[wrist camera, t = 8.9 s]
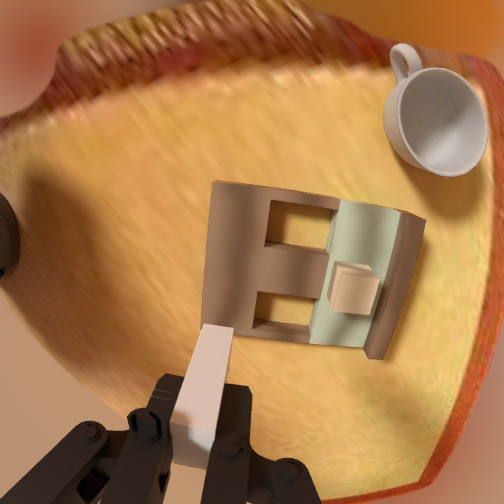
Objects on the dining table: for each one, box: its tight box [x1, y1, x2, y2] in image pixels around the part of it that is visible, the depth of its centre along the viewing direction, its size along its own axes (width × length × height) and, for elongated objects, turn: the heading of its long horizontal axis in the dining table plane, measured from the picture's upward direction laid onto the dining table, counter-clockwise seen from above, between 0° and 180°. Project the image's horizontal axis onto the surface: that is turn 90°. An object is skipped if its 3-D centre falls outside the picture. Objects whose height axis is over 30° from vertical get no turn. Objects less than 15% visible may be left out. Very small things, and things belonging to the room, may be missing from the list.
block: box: [326, 261, 380, 315], centre depth 31 cm, size 4×4×4 cm
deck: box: [200, 180, 426, 360], centre depth 33 cm, size 22×17×5 cm
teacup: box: [383, 44, 489, 177], centre depth 25 cm, size 14×11×8 cm
